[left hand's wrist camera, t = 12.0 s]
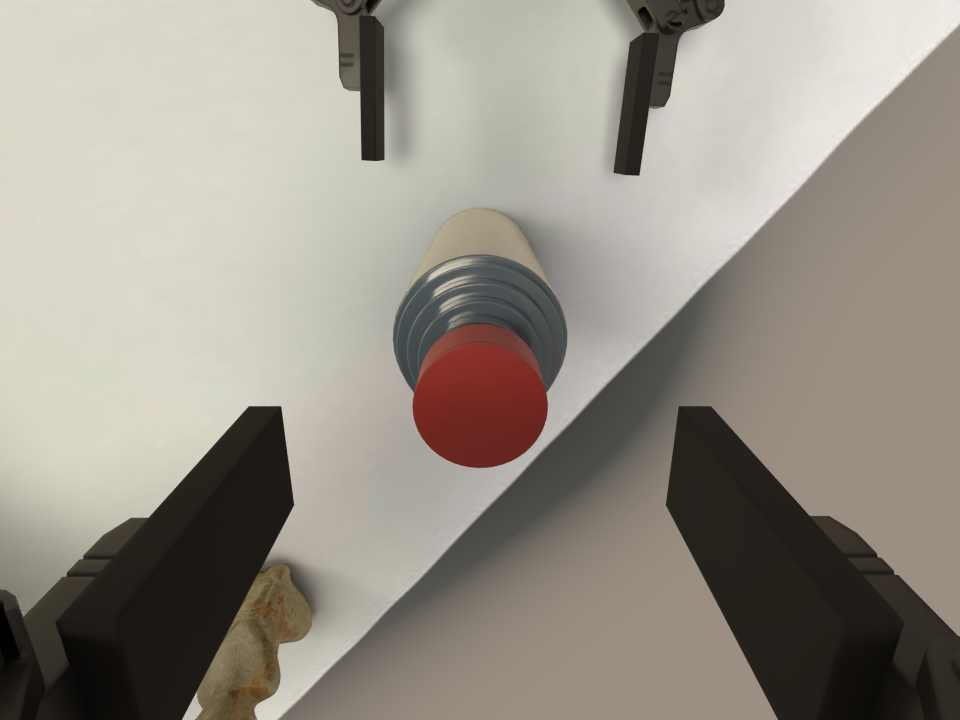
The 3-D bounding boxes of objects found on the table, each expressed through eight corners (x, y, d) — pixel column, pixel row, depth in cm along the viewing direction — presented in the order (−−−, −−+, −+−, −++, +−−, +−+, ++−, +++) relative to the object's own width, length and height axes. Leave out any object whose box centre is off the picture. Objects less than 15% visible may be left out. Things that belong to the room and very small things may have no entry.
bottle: (409, 257, 39) (317, 398, 17) (482, 186, 37) (486, 238, 15) (477, 327, 40) (475, 539, 18) (550, 261, 39) (642, 408, 17)
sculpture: (260, 628, 49) (173, 819, 35) (232, 561, 47) (126, 737, 33) (326, 618, 49) (264, 807, 35) (301, 549, 47) (223, 723, 32)
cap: (394, 379, 18) (384, 406, 16) (482, 298, 17) (483, 316, 15) (477, 456, 19) (477, 491, 17) (565, 384, 18) (575, 412, 16)
